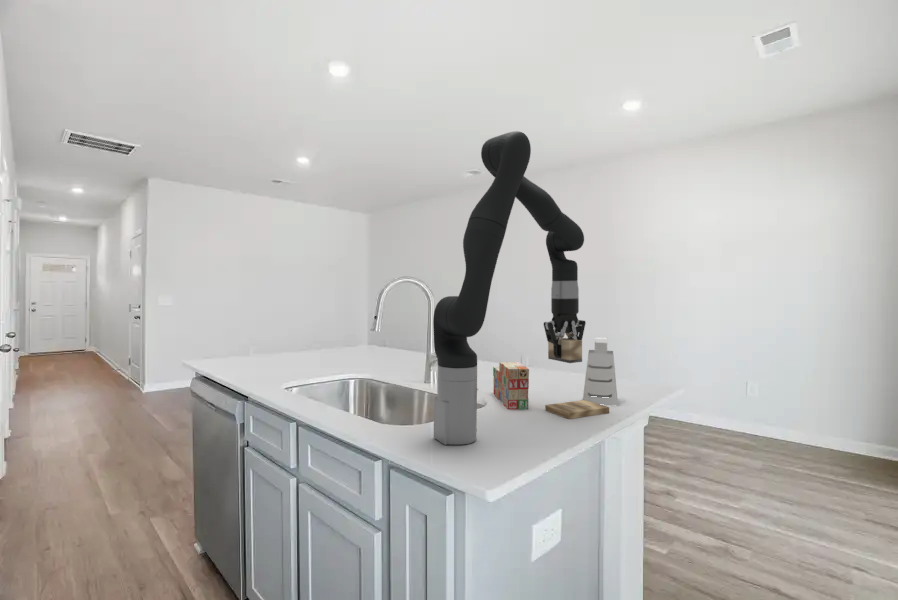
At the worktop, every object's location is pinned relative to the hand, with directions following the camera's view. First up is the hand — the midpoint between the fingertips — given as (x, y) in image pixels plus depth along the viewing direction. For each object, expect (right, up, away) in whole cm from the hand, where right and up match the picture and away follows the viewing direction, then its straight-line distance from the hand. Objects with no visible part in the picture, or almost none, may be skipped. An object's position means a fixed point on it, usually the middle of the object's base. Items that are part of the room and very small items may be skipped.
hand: (565, 356), depth 132 cm
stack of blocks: (-14, -16, +14) cm, 26 cm away
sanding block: (0, -1, 0) cm, 1 cm away
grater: (+15, -16, +15) cm, 27 cm away
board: (+4, -16, +2) cm, 17 cm away
